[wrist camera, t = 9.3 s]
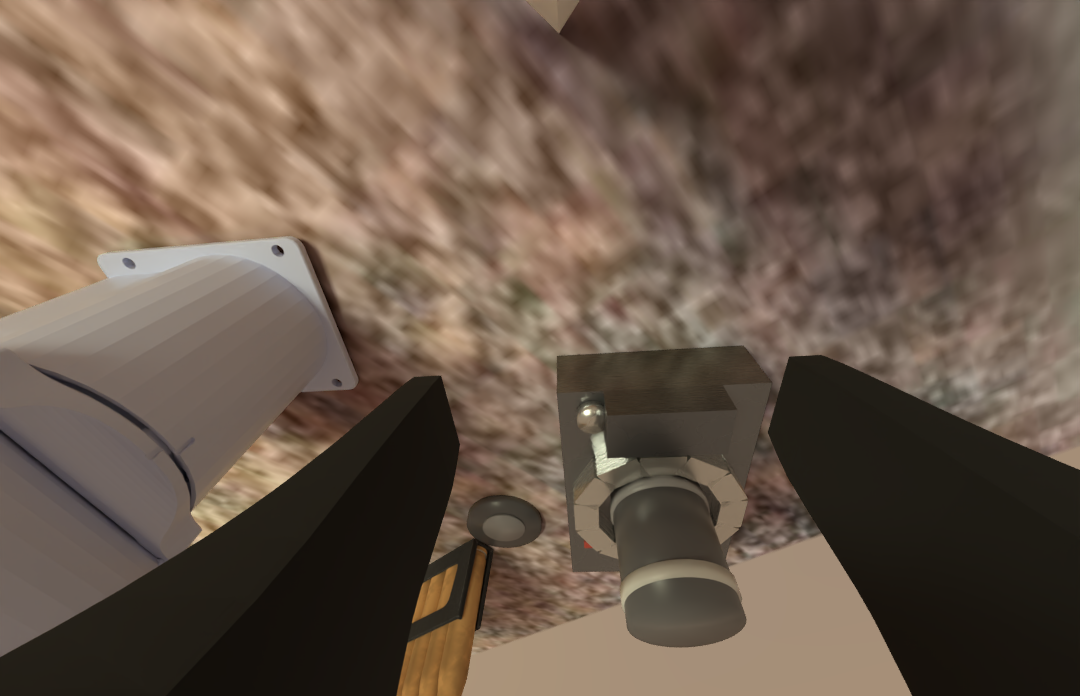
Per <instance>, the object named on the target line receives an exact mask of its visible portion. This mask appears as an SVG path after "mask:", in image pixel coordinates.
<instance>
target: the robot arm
mask: <svg viewBox="0 0 1080 696" xmlns="http://www.w3.org/2000/svg"><path fill="white" fill-rule="evenodd" d="M277 245H278V246H280V247H281V248H282V249H283V250H284V254H282V253H281V252H280V251H279V250H278V248H277ZM132 261H133V262H134V263H135V264H134V263H133V262H132ZM97 262H98V264H99V266H100V267H101V269H102V270H103V272H104V273H105V275H106V276H107V277H108V278H107V279H104V280H102V281H99V282H96V283H94V284H91V285H88V286H86V287H83V288H80V289H78V290H75V291H72V292H70V293H67V294H64V295H62V296H59V297H56V298H54V299H51V300H48V301H46V302H43V303H40V304H38V305H35V306H32V307H30V308H27V309H24V310H22V311H19V312H16V313H14V314H11V315H8V316H6V317H3V318H0V696H397V691H398V686H399V681H400V676H401V671H402V667H403V662H404V657H405V653H406V648H407V643H408V639H409V634H410V629H411V625H412V620H413V616H414V613H415V609H416V605H417V601H418V598H419V594H420V591H421V587H422V584H423V581H424V578H425V575H426V571H427V568H428V565H429V562H430V559H431V555H432V552H433V549H434V546H435V543H436V539H437V536H438V533H439V530H440V527H441V523H442V520H443V517H444V513H445V510H446V507H447V504H448V500H449V497H450V494H451V490H452V487H453V481H454V476H455V471H456V465H457V459H458V453H459V447H460V443H459V439H458V436H457V432H456V429H455V425H454V421H453V418H452V414H451V410H450V407H449V403H448V399H447V396H446V392H445V388H444V385H443V381H442V377H441V376H424V377H413V378H412V379H411V380H409V381H408V382H407V383H405V384H404V385H403V386H402V387H400V388H399V389H398V390H397V391H396V392H394V393H393V394H392V395H391V396H390V397H389V398H387V399H386V400H385V401H384V402H383V403H382V404H380V405H379V406H378V407H377V408H376V409H375V410H373V411H372V412H371V413H370V414H369V415H368V416H366V417H365V418H364V419H363V420H362V421H360V422H359V423H358V424H357V425H356V426H354V427H353V428H352V429H351V430H350V431H349V432H347V433H346V434H345V435H344V436H343V437H341V438H340V439H339V440H338V441H337V442H335V443H334V444H333V445H332V446H330V447H329V448H328V449H327V450H325V451H324V452H323V453H321V454H320V455H319V456H318V457H316V458H315V459H314V460H312V461H311V462H310V463H309V464H307V465H306V466H305V467H304V468H302V469H301V470H300V471H298V472H297V473H296V474H295V475H293V476H292V477H291V478H290V479H288V480H287V481H286V482H284V483H283V484H282V485H280V486H279V487H278V488H276V489H275V490H273V491H272V492H271V493H269V494H268V495H266V496H265V497H264V498H262V499H261V500H259V501H258V502H257V503H255V504H254V505H252V506H251V507H249V508H248V509H247V510H245V511H244V512H242V513H241V514H239V515H238V516H236V517H235V518H233V519H232V520H230V521H229V522H227V523H226V524H224V525H223V526H222V527H220V528H219V529H217V530H216V531H214V532H213V533H211V534H209V535H208V536H206V537H205V538H203V539H202V540H200V541H199V542H197V543H195V544H194V545H192V546H190V547H189V548H188V546H189V545H190V544H191V543H192V542H193V541H194V539H195V538H196V537H197V536H198V535H199V533H200V532H201V531H202V529H201V527H200V526H199V525H198V524H197V523H196V522H195V520H194V519H193V517H192V515H191V511H192V510H193V509H194V508H195V507H196V506H197V505H198V504H199V503H200V501H201V500H202V499H203V498H204V497H205V496H206V495H207V494H208V493H209V492H210V491H211V489H212V488H213V487H214V486H215V485H216V484H217V483H218V482H219V481H220V480H221V478H222V477H223V476H224V475H225V474H226V473H227V472H228V471H229V470H230V469H231V468H232V466H233V465H234V464H235V463H236V462H237V461H238V460H239V459H240V458H241V457H242V455H243V454H244V453H245V452H246V451H247V450H248V449H249V448H250V447H251V446H252V444H253V443H254V442H255V441H256V440H257V439H258V438H259V437H260V436H261V435H262V434H263V432H264V431H265V430H266V429H267V428H268V427H269V426H270V425H271V424H272V423H273V421H274V420H275V419H276V418H277V417H278V416H279V415H280V414H281V413H282V412H283V411H284V409H285V408H286V407H287V406H288V405H289V404H290V403H291V402H292V401H293V400H294V398H295V397H296V396H297V395H298V394H299V393H300V392H314V391H333V390H350V389H353V388H355V387H356V385H357V384H358V382H359V380H358V376H357V374H356V372H355V369H354V367H353V364H352V362H351V359H350V357H349V354H348V352H347V350H346V347H345V345H344V342H343V340H342V337H341V335H340V332H339V330H338V328H337V325H336V323H335V320H334V318H333V315H332V313H331V310H330V308H329V306H328V303H327V301H326V298H325V296H324V293H323V291H322V288H321V286H320V284H319V281H318V279H317V276H316V274H315V271H314V269H313V266H312V264H311V262H310V259H309V257H308V254H307V252H306V249H305V247H304V245H303V244H302V242H301V241H300V240H299V239H297V238H295V237H292V236H285V237H273V238H262V239H250V240H239V241H227V242H216V243H204V244H193V245H182V246H170V247H159V248H147V249H136V250H124V251H113V252H107V253H104V254H101V255H99V256H98V257H97ZM336 379H338V380H340V381H341V382H342V383H341V382H338V381H337V380H336ZM768 434H769V436H770V439H771V441H772V443H773V446H774V448H775V451H776V453H777V455H778V458H779V460H780V462H781V464H782V466H783V468H784V470H785V473H786V475H787V477H788V479H789V480H790V482H791V484H792V485H793V487H794V489H795V490H796V492H797V494H798V495H799V497H800V499H801V500H802V502H803V503H804V505H805V507H806V508H807V510H808V512H809V513H810V515H811V517H812V518H813V520H814V521H815V523H816V525H817V526H818V528H819V529H820V531H821V533H822V534H823V536H824V537H825V539H826V541H827V542H828V544H829V545H830V547H831V549H832V550H833V552H834V553H835V555H836V557H837V558H838V560H839V561H840V563H841V565H842V566H843V568H844V570H845V571H846V573H847V574H848V576H849V578H850V579H851V581H852V582H853V584H854V585H855V587H856V589H857V590H858V592H859V594H860V596H861V598H862V599H863V601H864V603H865V604H866V606H867V608H868V610H869V611H870V613H871V615H872V617H873V619H874V620H875V622H876V624H877V626H878V628H879V630H880V632H881V634H882V636H883V638H884V640H885V642H886V644H887V646H888V648H889V650H890V652H891V654H892V656H893V658H894V660H895V662H896V664H897V666H898V668H899V670H900V672H901V674H902V676H903V678H904V680H905V682H906V684H907V686H908V688H909V690H910V692H911V694H912V696H1080V470H1079V469H1076V468H1074V467H1071V466H1068V465H1066V464H1064V463H1061V462H1059V461H1057V460H1055V459H1052V458H1050V457H1048V456H1045V455H1043V454H1041V453H1038V452H1036V451H1034V450H1031V449H1029V448H1027V447H1024V446H1022V445H1020V444H1017V443H1015V442H1013V441H1010V440H1008V439H1006V438H1003V437H1001V436H999V435H996V434H994V433H992V432H990V431H988V430H985V429H983V428H981V427H979V426H976V425H974V424H972V423H970V422H968V421H965V420H963V419H961V418H959V417H957V416H955V415H952V414H950V413H948V412H946V411H944V410H942V409H939V408H937V407H935V406H933V405H931V404H929V403H927V402H925V401H922V400H920V399H918V398H916V397H914V396H912V395H910V394H908V393H905V392H903V391H901V390H899V389H897V388H895V387H893V386H891V385H889V384H886V383H884V382H882V381H880V380H878V379H876V378H874V377H871V376H869V375H867V374H865V373H863V372H861V371H858V370H856V369H854V368H852V367H850V366H847V365H845V364H843V363H840V362H838V361H835V360H833V359H830V358H828V357H825V356H822V355H814V356H795V357H789V359H788V362H787V366H786V370H785V373H784V377H783V380H782V384H781V387H780V391H779V395H778V398H777V402H776V405H775V409H774V412H773V416H772V420H771V423H770V427H769V430H768Z"/></svg>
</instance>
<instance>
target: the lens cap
mask: <svg viewBox="0 0 1080 696" xmlns="http://www.w3.org/2000/svg"><path fill="white" fill-rule="evenodd" d="M467 528H468V530H469V532H470V533H471V534H472V536H474V537H475V538H476V539H477V540H479V541H481V542H483V543H485V544H488V545H491V546H495V547H503V548H511V547H518V546H522V545H525V544H528V543H530V542H532V541H533V540H535V539H536V538H537V537H538V535H539V534H540V531H541V516H540V513H539V512H538V510H537V509H536V508H535V507H534V506H533V505H531V504H530V503H528V502H527V501H525V500H522V499H520V498H517V497H512V496H505V495H497V496H490V497H486V498H483V499H481V500H479V501H477V502H476V503H475V504H474V505H473V506H472V507H471V508H470V510H469V514H468V519H467Z"/></svg>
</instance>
